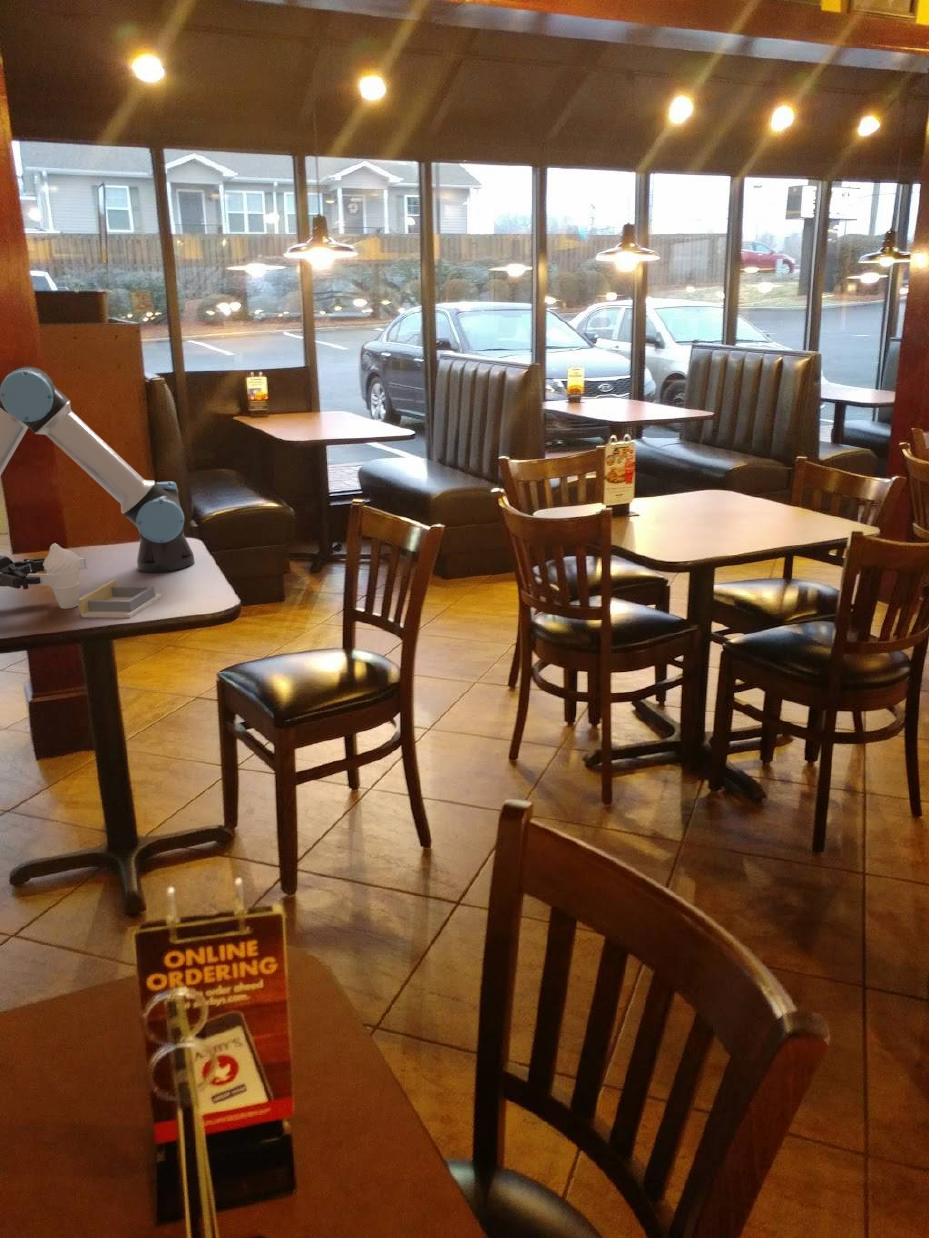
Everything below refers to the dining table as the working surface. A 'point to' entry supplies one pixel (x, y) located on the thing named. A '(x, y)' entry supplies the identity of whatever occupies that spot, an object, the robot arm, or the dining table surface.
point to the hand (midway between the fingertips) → (70, 571)
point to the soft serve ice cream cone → (63, 575)
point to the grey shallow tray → (117, 600)
